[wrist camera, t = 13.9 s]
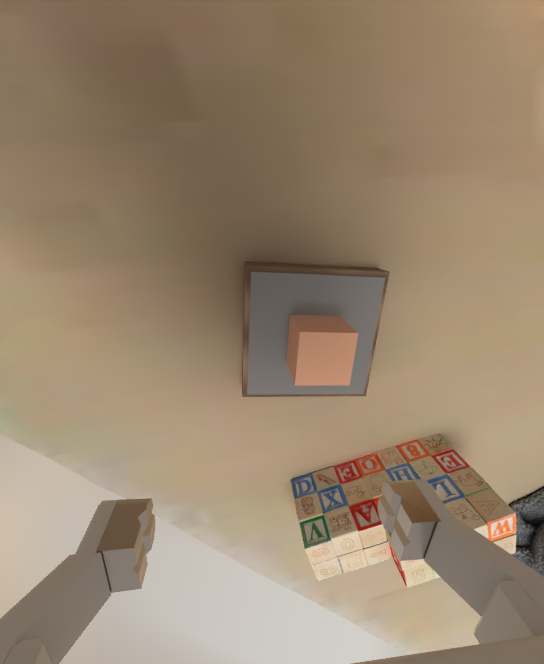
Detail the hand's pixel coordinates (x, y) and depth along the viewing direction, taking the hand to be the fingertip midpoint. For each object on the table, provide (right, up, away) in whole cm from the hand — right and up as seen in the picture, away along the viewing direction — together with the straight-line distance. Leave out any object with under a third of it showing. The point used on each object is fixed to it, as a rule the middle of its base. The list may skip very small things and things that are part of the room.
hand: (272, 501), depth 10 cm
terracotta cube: (+4, +5, +19) cm, 21 cm away
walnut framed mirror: (+4, +6, +22) cm, 23 cm away
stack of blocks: (+14, -14, +31) cm, 36 cm away
